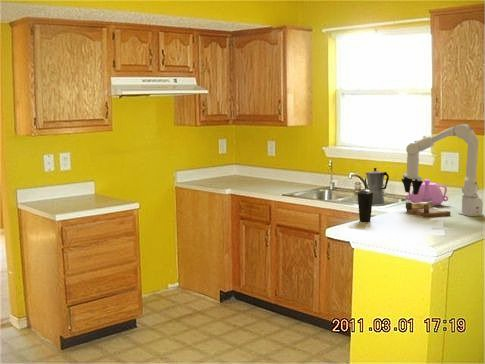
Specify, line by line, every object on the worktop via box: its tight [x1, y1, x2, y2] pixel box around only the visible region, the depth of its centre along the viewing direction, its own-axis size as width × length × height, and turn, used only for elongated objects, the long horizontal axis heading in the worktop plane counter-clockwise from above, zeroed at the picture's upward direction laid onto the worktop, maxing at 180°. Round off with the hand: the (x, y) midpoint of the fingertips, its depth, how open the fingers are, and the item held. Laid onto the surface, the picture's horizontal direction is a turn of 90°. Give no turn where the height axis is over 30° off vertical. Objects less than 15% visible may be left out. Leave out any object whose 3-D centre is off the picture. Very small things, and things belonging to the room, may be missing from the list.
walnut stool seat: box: [406, 204, 451, 218], centre depth 292 cm, size 16×14×6 cm
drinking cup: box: [356, 177, 374, 223], centre depth 274 cm, size 8×8×20 cm
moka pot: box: [365, 167, 390, 206], centre depth 324 cm, size 10×15×20 cm, turn 44°
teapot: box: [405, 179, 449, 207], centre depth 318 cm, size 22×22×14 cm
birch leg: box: [405, 201, 434, 210], centre depth 298 cm, size 15×3×3 cm, turn 107°
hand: (411, 193), depth 303 cm, fingers open, 7 cm apart
